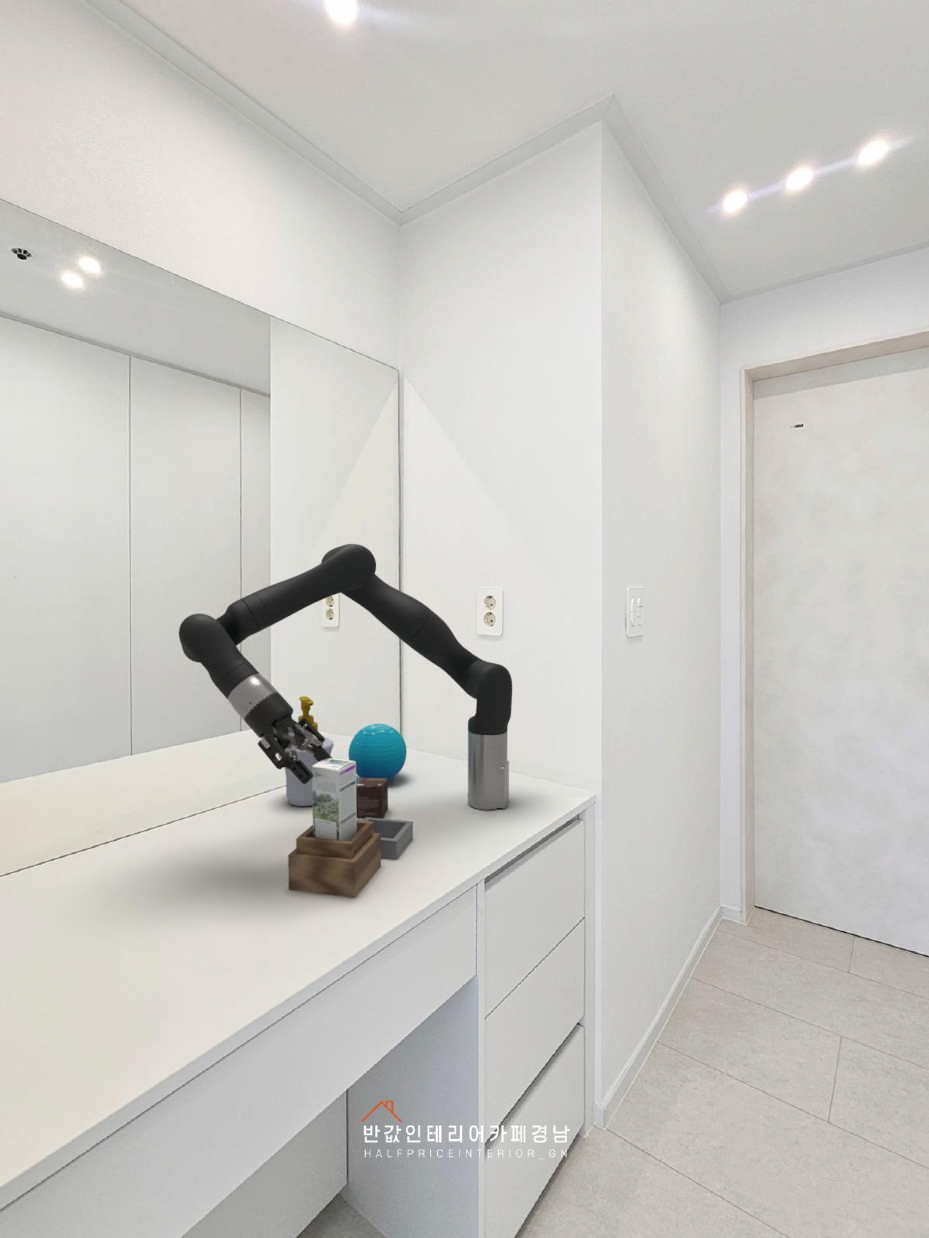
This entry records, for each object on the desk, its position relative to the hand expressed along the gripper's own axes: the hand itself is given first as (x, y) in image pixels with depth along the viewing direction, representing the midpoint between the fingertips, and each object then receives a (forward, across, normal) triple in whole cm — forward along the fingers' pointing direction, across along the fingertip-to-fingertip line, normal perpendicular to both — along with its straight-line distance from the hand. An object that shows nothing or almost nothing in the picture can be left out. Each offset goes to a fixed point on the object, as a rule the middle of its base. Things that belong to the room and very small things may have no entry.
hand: (320, 773), depth 109 cm
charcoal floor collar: (+17, +14, +9) cm, 24 cm away
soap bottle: (-1, +34, +27) cm, 44 cm away
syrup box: (+11, 0, +7) cm, 13 cm away
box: (+12, +30, +15) cm, 36 cm away
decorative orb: (+7, +52, +20) cm, 56 cm away
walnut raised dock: (+15, 0, +11) cm, 19 cm away
